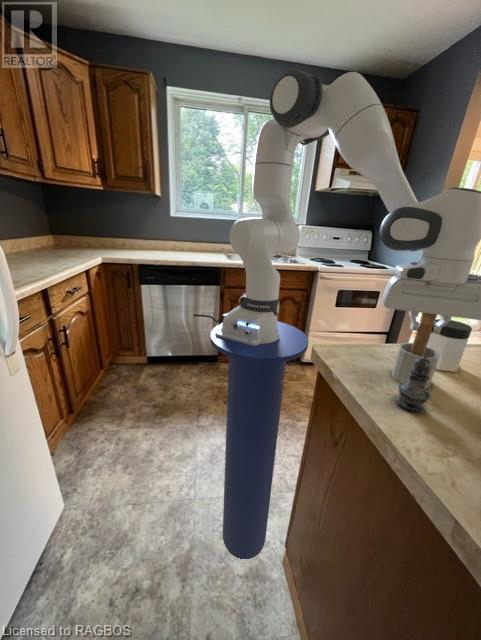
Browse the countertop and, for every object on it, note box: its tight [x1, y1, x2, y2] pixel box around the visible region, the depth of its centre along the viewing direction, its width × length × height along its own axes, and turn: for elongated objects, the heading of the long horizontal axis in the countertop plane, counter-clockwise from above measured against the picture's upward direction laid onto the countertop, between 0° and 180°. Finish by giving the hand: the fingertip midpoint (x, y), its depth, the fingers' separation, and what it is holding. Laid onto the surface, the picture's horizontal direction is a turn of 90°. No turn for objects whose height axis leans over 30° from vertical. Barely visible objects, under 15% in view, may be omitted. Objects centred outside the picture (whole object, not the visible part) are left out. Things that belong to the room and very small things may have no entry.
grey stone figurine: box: [395, 355, 432, 414], centre depth 55 cm, size 6×6×12 cm
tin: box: [391, 342, 440, 389], centre depth 66 cm, size 8×8×8 cm
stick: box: [410, 313, 438, 357], centre depth 64 cm, size 3×3×18 cm
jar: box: [427, 318, 473, 373], centre depth 73 cm, size 9×8×12 cm
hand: (424, 331), depth 63 cm, fingers closed on stick, 3 cm apart
